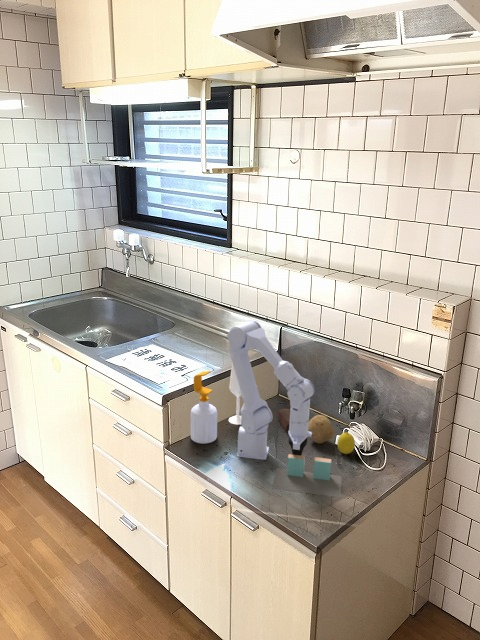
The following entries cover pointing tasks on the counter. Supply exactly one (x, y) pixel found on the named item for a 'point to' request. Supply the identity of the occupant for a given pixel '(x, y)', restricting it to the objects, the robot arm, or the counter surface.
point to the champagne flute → (236, 391)
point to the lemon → (346, 443)
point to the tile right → (322, 468)
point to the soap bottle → (203, 414)
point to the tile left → (295, 465)
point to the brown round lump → (320, 429)
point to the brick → (284, 418)
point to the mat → (307, 483)
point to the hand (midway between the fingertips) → (296, 458)
